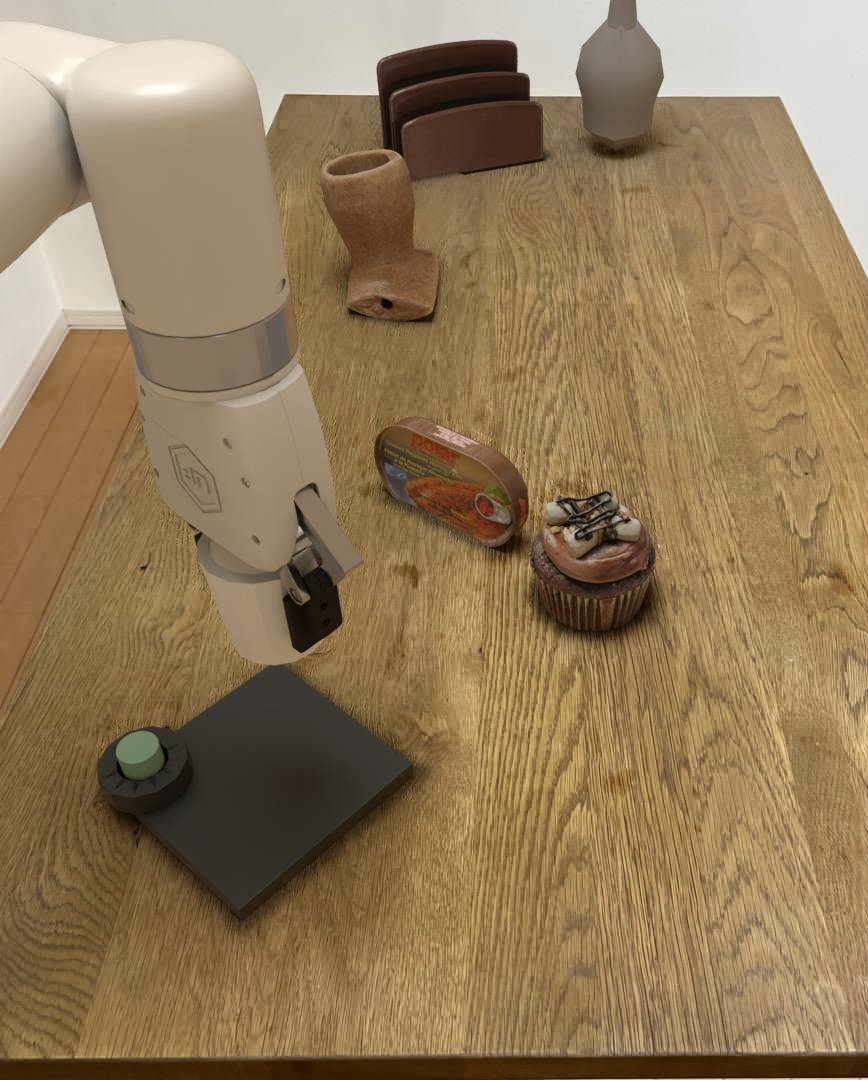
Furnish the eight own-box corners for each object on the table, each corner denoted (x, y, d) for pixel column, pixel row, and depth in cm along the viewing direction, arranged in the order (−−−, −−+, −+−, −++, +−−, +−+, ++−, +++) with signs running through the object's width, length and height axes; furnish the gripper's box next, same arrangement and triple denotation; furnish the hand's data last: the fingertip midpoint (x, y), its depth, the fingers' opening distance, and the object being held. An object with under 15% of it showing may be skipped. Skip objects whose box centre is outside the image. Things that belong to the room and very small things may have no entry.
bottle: (638, 172, 148) (654, -78, 129) (562, 158, 152) (566, -88, 132) (668, 143, 156) (687, -98, 136) (594, 130, 160) (602, -106, 140)
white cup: (305, 685, 61) (286, 594, 57) (197, 656, 63) (170, 565, 58) (359, 603, 66) (345, 513, 62) (257, 578, 68) (237, 489, 63)
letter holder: (383, 157, 152) (373, 50, 143) (516, 135, 158) (515, 31, 149) (405, 184, 145) (396, 74, 136) (544, 161, 151) (544, 53, 142)
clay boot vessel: (342, 261, 129) (326, 133, 119) (444, 262, 129) (436, 134, 119) (322, 328, 118) (302, 192, 108) (434, 328, 118) (424, 193, 108)
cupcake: (678, 613, 85) (689, 512, 79) (573, 662, 81) (576, 561, 75) (607, 543, 91) (612, 445, 85) (506, 586, 87) (503, 486, 81)
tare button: (114, 765, 70) (107, 748, 69) (149, 741, 72) (143, 724, 71) (137, 788, 69) (131, 770, 68) (172, 762, 71) (166, 745, 69)
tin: (376, 494, 96) (366, 413, 91) (400, 476, 98) (392, 396, 93) (511, 564, 89) (510, 482, 84) (535, 544, 91) (535, 462, 86)
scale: (94, 797, 72) (79, 763, 70) (273, 670, 81) (265, 637, 78) (233, 934, 65) (222, 902, 63) (414, 779, 73) (410, 746, 71)
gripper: (41, 301, 54) (130, 572, 65) (269, 439, 45) (324, 722, 57) (172, 248, 58) (233, 511, 70) (402, 364, 49) (428, 642, 61)
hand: (274, 603), depth 63 cm, fingers closed on white cup, 6 cm apart
